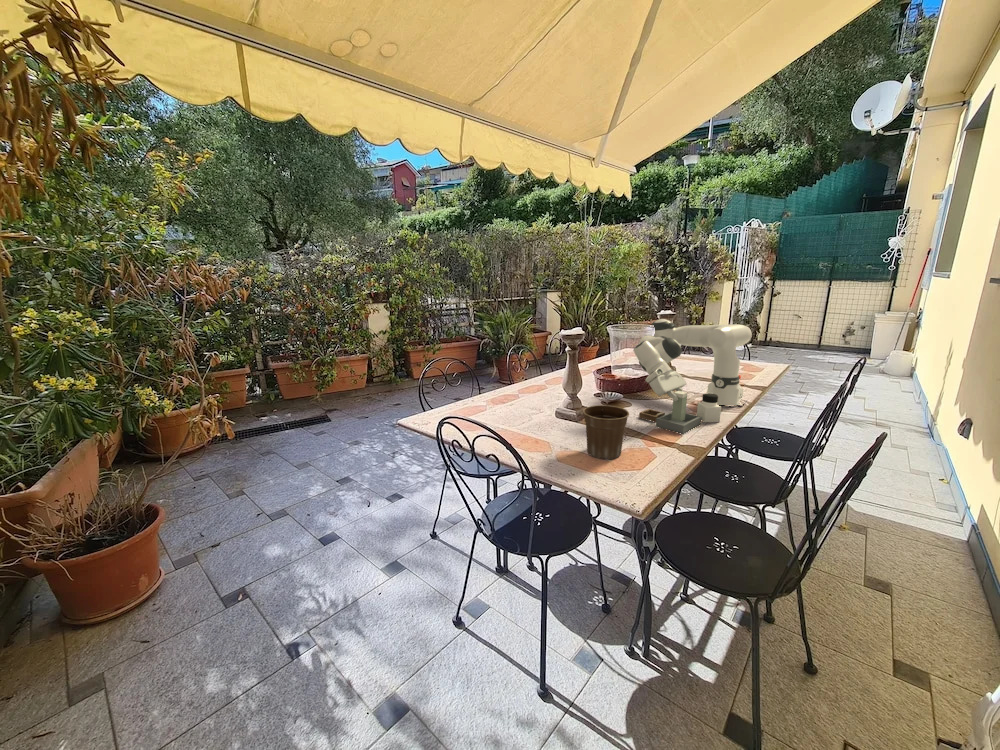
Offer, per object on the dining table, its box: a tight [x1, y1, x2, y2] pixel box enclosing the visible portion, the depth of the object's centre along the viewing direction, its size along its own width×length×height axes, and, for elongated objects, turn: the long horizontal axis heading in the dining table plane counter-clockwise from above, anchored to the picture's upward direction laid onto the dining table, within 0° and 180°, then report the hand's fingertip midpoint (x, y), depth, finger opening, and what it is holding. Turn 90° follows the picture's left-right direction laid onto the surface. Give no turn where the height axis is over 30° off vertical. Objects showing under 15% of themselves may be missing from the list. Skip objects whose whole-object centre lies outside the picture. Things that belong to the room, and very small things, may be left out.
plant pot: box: [582, 404, 630, 460], centre depth 151 cm, size 16×16×16 cm
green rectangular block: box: [671, 390, 688, 422], centre depth 176 cm, size 4×4×12 cm
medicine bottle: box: [696, 392, 722, 423], centre depth 183 cm, size 7×7×12 cm
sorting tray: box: [655, 411, 702, 435], centre depth 177 cm, size 16×12×4 cm
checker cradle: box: [638, 408, 666, 423], centre depth 188 cm, size 8×8×3 cm
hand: (680, 399), depth 175 cm, fingers closed on green rectangular block, 4 cm apart
